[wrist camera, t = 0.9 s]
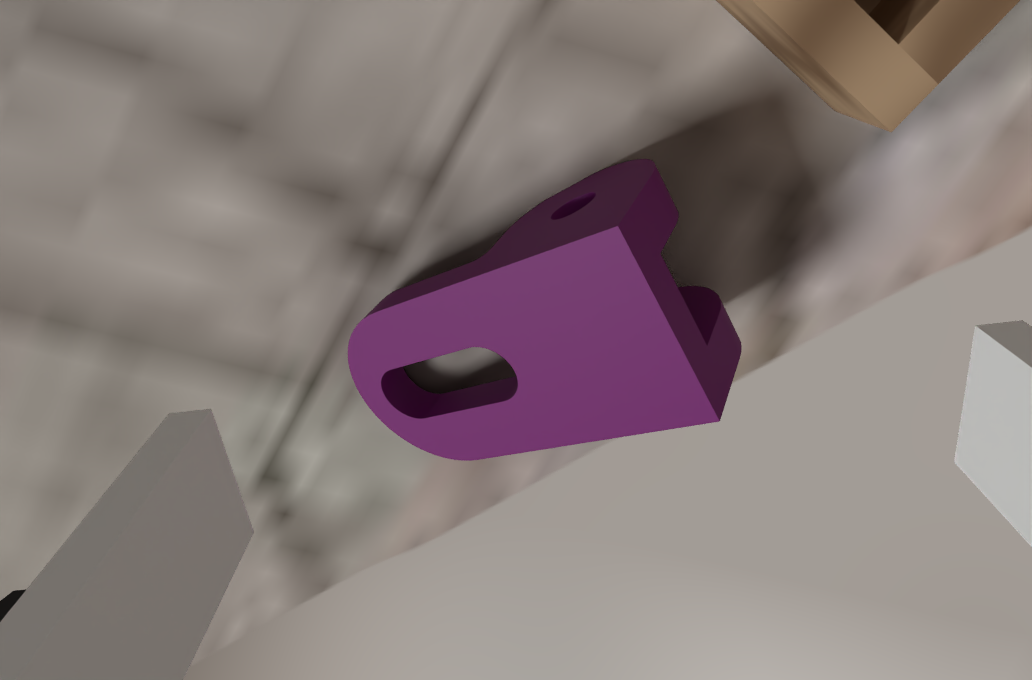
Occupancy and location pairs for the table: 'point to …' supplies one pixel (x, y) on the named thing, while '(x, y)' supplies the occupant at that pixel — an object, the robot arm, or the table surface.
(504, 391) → the mounting bracket
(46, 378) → the table surface
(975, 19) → the port block
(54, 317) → the table surface
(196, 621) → the robot arm
